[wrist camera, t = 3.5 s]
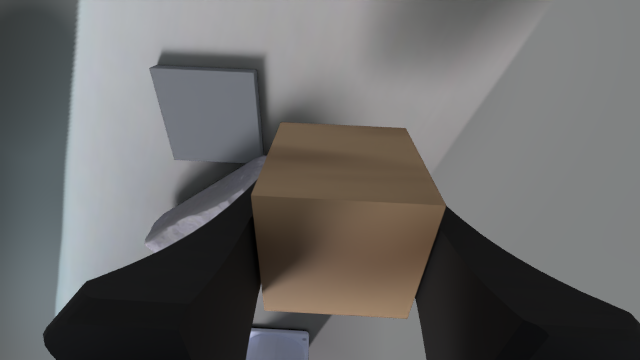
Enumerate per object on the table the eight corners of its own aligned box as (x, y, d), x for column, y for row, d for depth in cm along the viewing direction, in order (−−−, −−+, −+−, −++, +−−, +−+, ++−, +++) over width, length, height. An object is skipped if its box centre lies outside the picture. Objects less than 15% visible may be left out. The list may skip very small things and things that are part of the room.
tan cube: (385, 223, 14) (407, 318, 10) (284, 217, 14) (264, 310, 10) (405, 128, 12) (446, 205, 7) (280, 122, 12) (250, 195, 7)
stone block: (342, 210, 25) (261, 138, 18) (350, 263, 21) (254, 198, 15) (241, 254, 29) (148, 209, 23) (235, 303, 26) (124, 267, 20)
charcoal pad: (263, 158, 20) (261, 164, 20) (179, 154, 21) (174, 159, 20) (256, 69, 17) (253, 72, 17) (156, 65, 17) (149, 67, 17)
